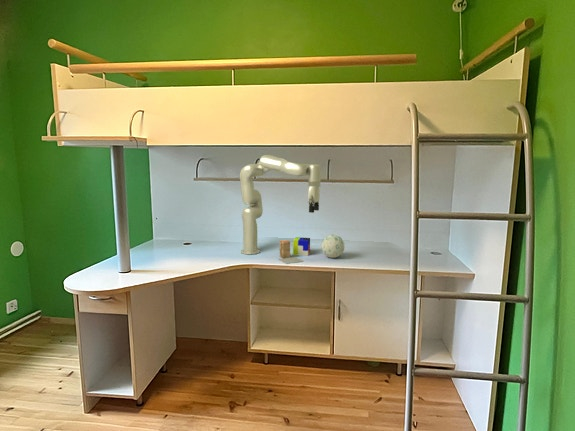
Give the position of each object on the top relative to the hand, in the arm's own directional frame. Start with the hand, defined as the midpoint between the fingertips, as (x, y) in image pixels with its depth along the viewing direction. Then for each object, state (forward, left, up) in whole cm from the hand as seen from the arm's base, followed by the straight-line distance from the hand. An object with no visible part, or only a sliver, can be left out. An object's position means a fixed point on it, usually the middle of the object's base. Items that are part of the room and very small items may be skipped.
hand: (313, 211), depth 248 cm
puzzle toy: (-16, +1, -32) cm, 36 cm away
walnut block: (-12, -14, -31) cm, 36 cm away
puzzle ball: (+2, +14, -31) cm, 34 cm away
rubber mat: (-4, -14, -31) cm, 34 cm away
